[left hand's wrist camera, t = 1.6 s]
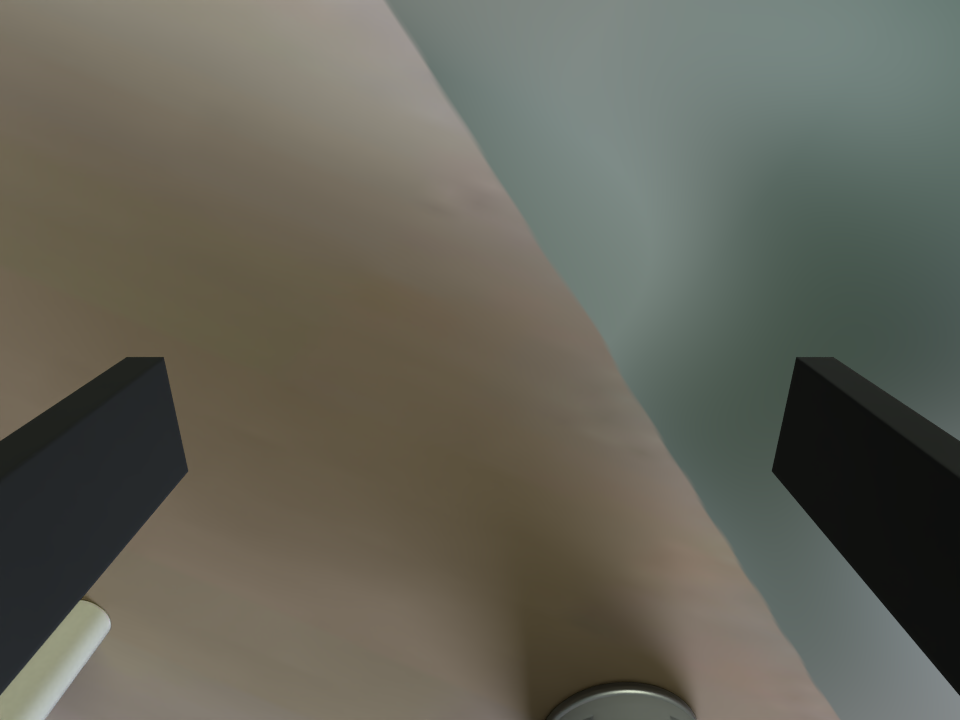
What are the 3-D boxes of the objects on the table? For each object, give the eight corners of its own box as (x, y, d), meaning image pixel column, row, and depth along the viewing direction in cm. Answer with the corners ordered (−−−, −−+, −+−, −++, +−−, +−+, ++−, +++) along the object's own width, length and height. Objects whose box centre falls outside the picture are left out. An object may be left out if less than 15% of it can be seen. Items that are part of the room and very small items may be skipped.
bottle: (48, 602, 51) (-156, 828, 34) (99, 596, 50) (-82, 821, 34) (69, 642, 52) (-116, 875, 36) (118, 637, 52) (-45, 869, 36)
